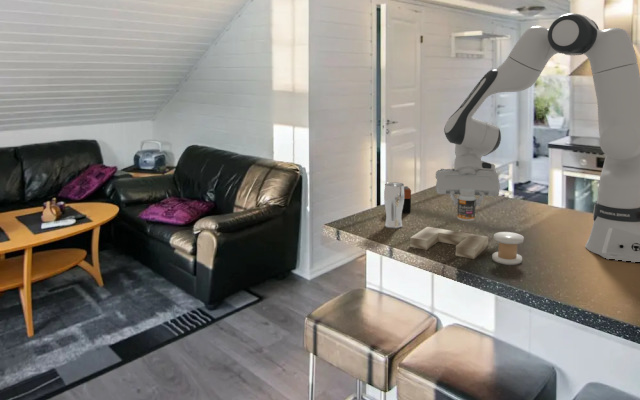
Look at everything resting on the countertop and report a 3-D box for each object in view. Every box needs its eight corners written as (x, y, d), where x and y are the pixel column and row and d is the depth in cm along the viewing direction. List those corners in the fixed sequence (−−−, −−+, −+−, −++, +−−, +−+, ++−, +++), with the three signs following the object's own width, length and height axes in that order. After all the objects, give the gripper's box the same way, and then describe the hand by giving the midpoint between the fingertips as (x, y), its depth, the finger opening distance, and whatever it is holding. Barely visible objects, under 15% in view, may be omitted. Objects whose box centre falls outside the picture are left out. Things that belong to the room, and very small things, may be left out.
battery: (391, 210, 197) (391, 185, 195) (408, 210, 197) (409, 185, 195) (392, 213, 193) (393, 187, 191) (410, 213, 193) (411, 187, 191)
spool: (525, 257, 146) (527, 234, 144) (517, 266, 139) (519, 242, 138) (496, 252, 150) (498, 230, 148) (488, 261, 144) (490, 237, 142)
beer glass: (401, 222, 181) (402, 181, 177) (405, 228, 174) (406, 186, 171) (382, 223, 181) (382, 182, 177) (385, 229, 174) (385, 186, 170)
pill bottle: (457, 221, 164) (458, 191, 161) (456, 216, 169) (458, 187, 167) (475, 221, 163) (476, 191, 160) (474, 216, 168) (476, 187, 166)
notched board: (487, 246, 156) (488, 236, 155) (474, 259, 146) (474, 249, 145) (427, 235, 167) (427, 226, 166) (410, 246, 157) (410, 237, 156)
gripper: (436, 163, 171) (433, 198, 164) (500, 164, 166) (500, 201, 159) (436, 173, 176) (434, 208, 169) (498, 175, 171) (498, 211, 164)
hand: (466, 204), depth 164 cm, fingers closed on pill bottle, 6 cm apart
